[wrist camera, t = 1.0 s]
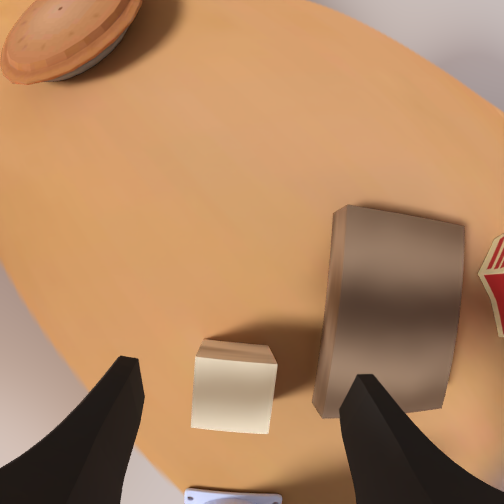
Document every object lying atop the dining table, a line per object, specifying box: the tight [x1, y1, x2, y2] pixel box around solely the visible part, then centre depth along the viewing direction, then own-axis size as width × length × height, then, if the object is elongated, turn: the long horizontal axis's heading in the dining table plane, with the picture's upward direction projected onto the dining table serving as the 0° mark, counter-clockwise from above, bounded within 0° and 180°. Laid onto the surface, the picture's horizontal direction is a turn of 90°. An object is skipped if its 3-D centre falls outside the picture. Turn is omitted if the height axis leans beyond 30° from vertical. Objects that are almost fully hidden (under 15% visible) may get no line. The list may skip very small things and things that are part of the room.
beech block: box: [191, 339, 278, 434], centre depth 19 cm, size 4×4×5 cm
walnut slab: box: [312, 205, 464, 419], centre depth 21 cm, size 14×10×3 cm
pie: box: [0, 0, 143, 85], centre depth 20 cm, size 15×16×5 cm
